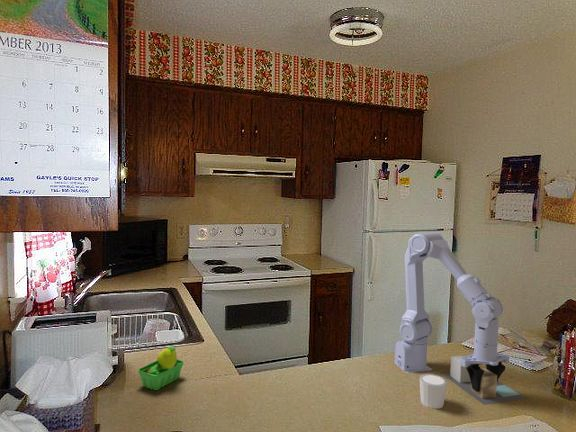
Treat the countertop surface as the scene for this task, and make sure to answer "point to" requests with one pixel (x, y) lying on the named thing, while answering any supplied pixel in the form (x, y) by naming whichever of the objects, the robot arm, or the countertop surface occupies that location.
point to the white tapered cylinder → (432, 390)
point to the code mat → (501, 396)
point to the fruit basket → (161, 370)
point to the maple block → (487, 385)
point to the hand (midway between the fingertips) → (483, 389)
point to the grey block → (459, 370)
